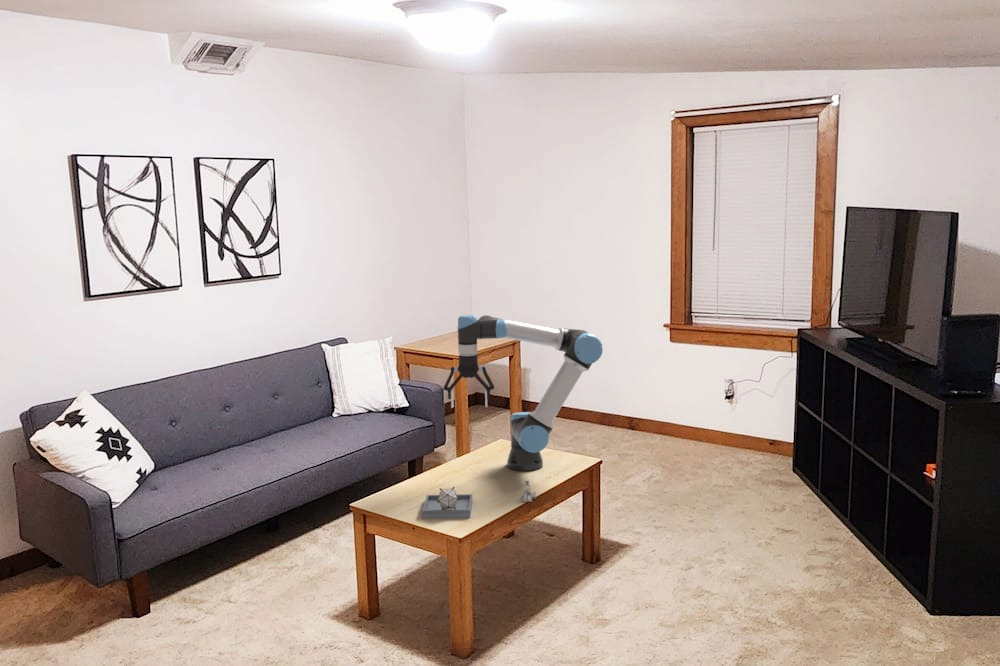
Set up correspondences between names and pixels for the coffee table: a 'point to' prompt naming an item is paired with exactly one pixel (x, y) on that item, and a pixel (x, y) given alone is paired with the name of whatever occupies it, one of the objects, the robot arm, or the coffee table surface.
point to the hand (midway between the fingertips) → (469, 406)
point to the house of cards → (528, 494)
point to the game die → (447, 498)
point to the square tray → (435, 510)
